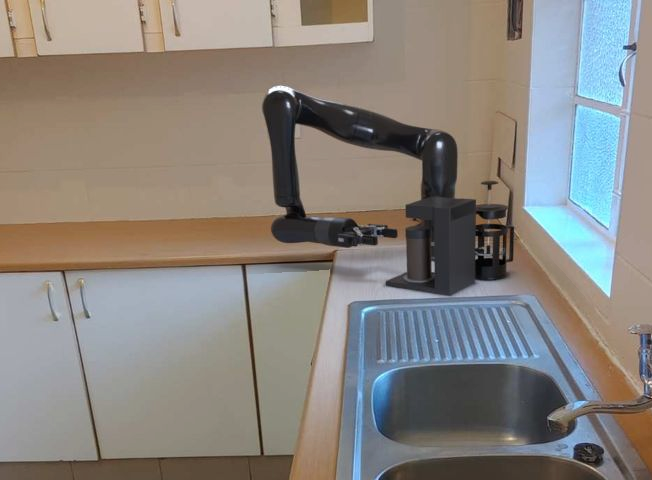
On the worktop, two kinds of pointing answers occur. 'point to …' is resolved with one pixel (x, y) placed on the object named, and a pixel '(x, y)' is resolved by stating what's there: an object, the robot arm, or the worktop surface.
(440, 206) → the coffee maker
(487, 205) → the french press
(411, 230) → the brown travel mug
